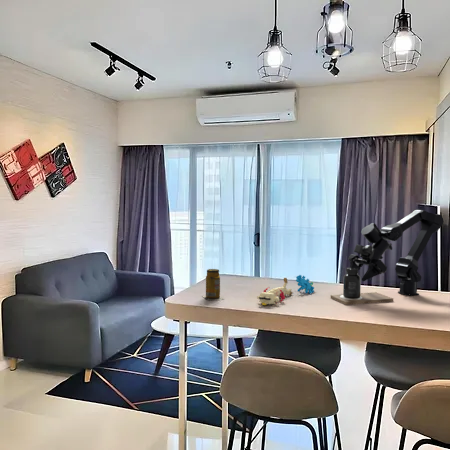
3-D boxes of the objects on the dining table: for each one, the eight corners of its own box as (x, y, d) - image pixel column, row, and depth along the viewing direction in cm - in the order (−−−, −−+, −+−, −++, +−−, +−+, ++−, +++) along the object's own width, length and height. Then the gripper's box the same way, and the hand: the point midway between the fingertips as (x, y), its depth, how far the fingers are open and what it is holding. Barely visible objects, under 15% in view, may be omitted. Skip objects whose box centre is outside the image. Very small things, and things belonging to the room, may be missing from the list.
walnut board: (376, 294, 191) (376, 291, 191) (393, 301, 180) (393, 298, 179) (330, 298, 185) (330, 294, 185) (345, 304, 174) (345, 301, 174)
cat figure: (275, 296, 195) (251, 303, 173) (276, 276, 195) (252, 281, 173) (296, 298, 190) (274, 306, 169) (297, 278, 190) (275, 284, 169)
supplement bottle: (363, 297, 181) (364, 268, 180) (355, 299, 176) (356, 270, 175) (348, 294, 186) (348, 266, 185) (339, 297, 181) (340, 268, 180)
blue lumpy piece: (305, 292, 189) (294, 273, 195) (296, 300, 192) (285, 281, 197) (320, 291, 197) (309, 274, 202) (311, 299, 200) (300, 281, 205)
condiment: (218, 295, 191) (218, 268, 190) (224, 299, 183) (224, 271, 182) (202, 296, 188) (201, 268, 187) (208, 301, 180) (208, 272, 179)
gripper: (351, 235, 191) (330, 262, 187) (381, 239, 173) (358, 269, 170) (365, 252, 194) (345, 279, 191) (396, 258, 177) (374, 287, 174)
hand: (355, 278), depth 181 cm, fingers open, 9 cm apart
